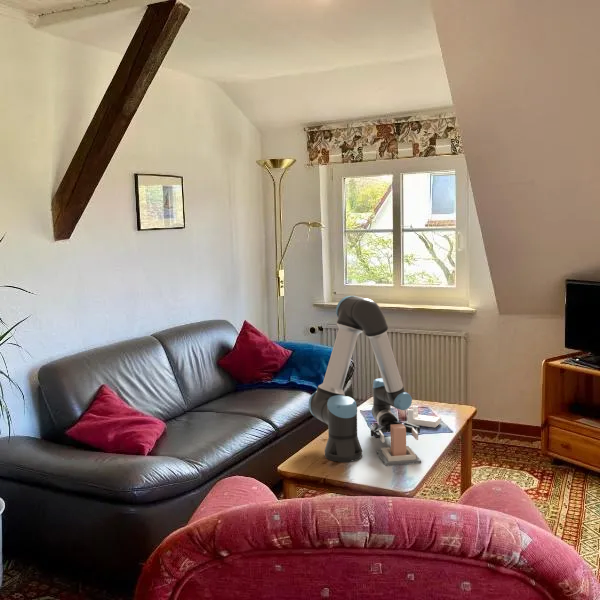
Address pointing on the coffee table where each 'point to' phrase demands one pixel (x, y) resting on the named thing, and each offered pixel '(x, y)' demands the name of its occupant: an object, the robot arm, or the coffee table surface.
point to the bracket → (422, 418)
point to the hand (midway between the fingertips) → (400, 437)
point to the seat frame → (398, 457)
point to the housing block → (398, 439)
